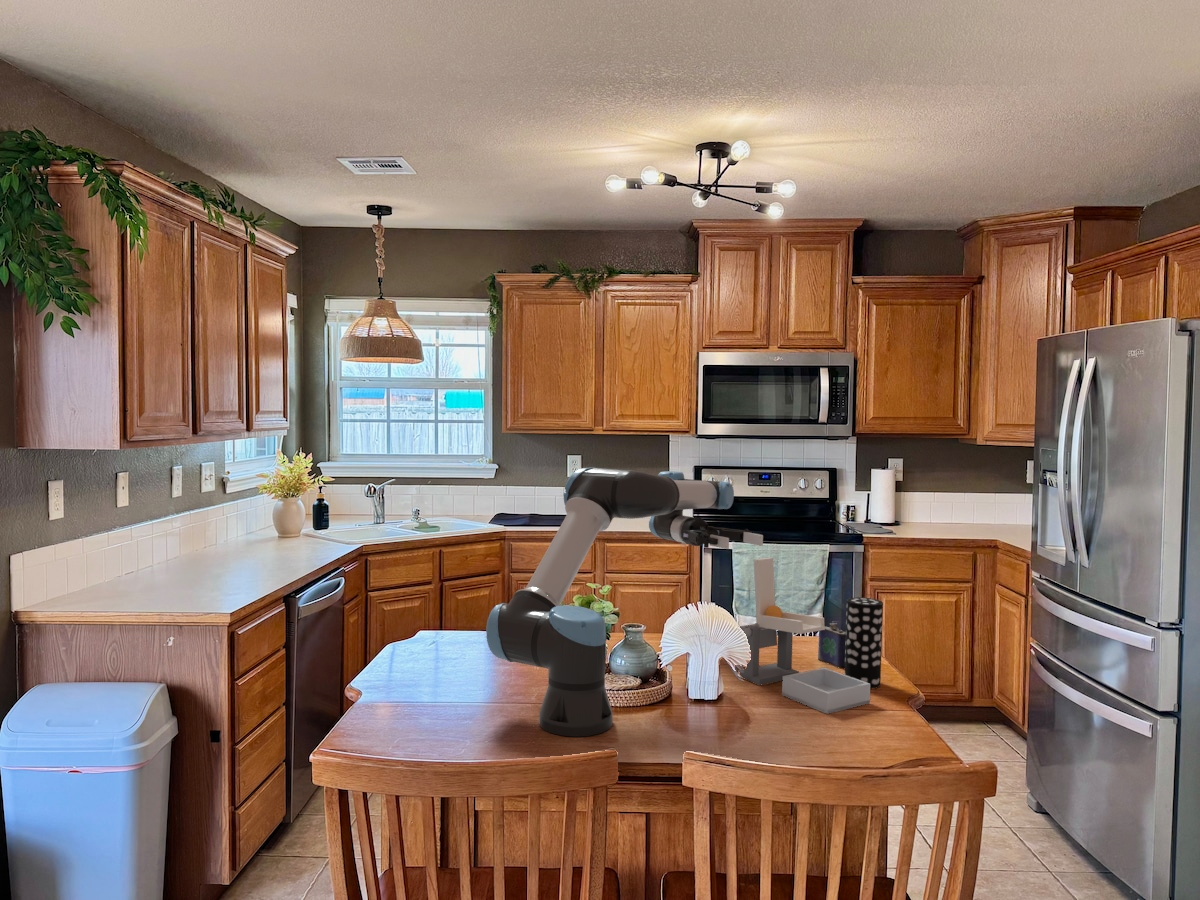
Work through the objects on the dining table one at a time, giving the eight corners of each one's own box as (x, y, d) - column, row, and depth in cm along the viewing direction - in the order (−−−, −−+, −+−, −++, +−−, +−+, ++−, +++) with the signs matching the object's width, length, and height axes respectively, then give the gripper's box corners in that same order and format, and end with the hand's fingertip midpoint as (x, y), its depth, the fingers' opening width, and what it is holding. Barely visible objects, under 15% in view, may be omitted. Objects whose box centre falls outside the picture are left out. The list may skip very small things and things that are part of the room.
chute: (826, 654, 197) (821, 560, 198) (800, 659, 192) (796, 563, 193) (763, 642, 214) (759, 556, 215) (738, 646, 210) (734, 558, 211)
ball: (787, 617, 203) (781, 601, 205) (773, 620, 202) (766, 605, 204) (780, 622, 207) (774, 607, 208) (766, 626, 205) (760, 610, 207)
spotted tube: (882, 690, 199) (885, 606, 198) (845, 687, 200) (848, 603, 200) (878, 679, 207) (880, 598, 206) (842, 676, 209) (845, 596, 208)
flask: (815, 659, 223) (817, 619, 222) (824, 658, 224) (825, 618, 224) (841, 669, 215) (842, 627, 214) (849, 668, 216) (851, 626, 216)
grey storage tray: (869, 703, 189) (870, 683, 189) (827, 714, 182) (827, 693, 182) (823, 686, 201) (824, 667, 201) (782, 695, 194) (782, 676, 193)
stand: (801, 676, 208) (802, 624, 207) (756, 686, 200) (758, 632, 199) (777, 668, 214) (779, 617, 214) (734, 677, 207) (735, 624, 206)
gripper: (722, 541, 239) (778, 553, 220) (656, 547, 226) (709, 560, 208) (723, 515, 238) (778, 524, 220) (656, 519, 226) (709, 529, 207)
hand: (745, 542), depth 214 cm, fingers open, 11 cm apart
